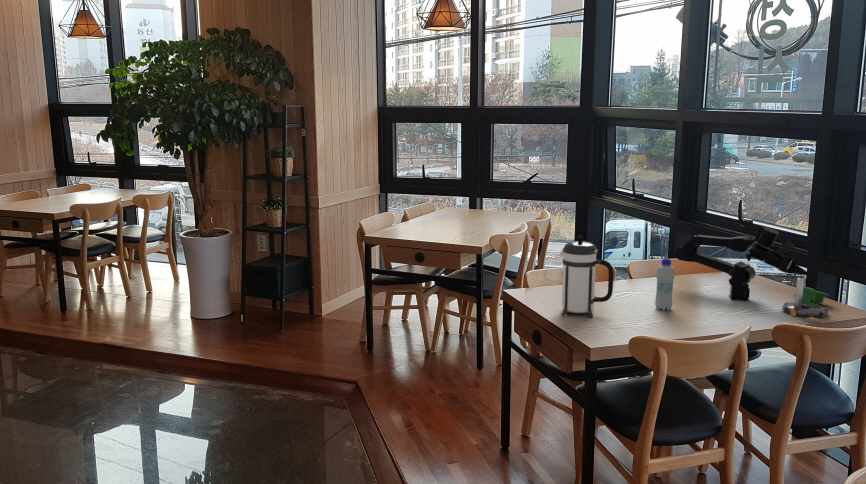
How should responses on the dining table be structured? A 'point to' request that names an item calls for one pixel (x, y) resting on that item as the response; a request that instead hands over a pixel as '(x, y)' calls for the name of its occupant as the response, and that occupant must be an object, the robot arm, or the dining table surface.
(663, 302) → the bottle
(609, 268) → the coffee press
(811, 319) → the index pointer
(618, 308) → the dining table surface
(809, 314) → the sprocket
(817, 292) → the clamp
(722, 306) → the dining table surface
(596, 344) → the dining table surface
